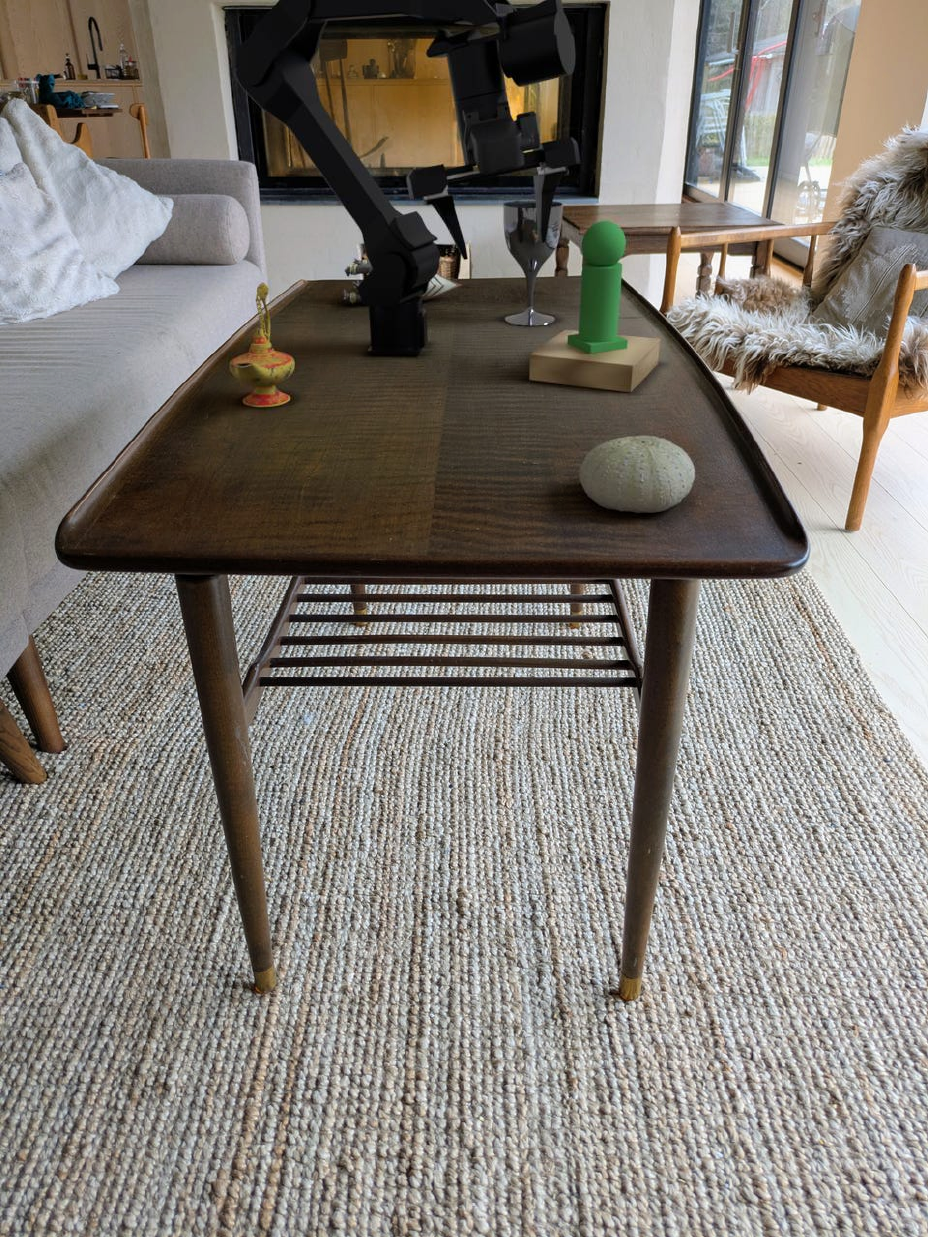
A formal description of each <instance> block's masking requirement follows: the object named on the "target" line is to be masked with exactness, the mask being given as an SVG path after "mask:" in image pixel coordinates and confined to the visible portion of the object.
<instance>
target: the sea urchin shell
mask: <svg viewBox="0 0 928 1237" xmlns="http://www.w3.org/2000/svg"><path fill="white" fill-rule="evenodd" d="M695 474H696V469H695V465H694V463H693V460H692V459H691V457H690V455H689V454H688V453H687V452H686V451H685V450H684V449H683V448H682V447H680V446H679V445H676V444H675V443H673V442H672V441H671V440H667V439H665V438H664V437H663V438H661V437H658V436H655V435H653V436H651V435H650V436H649V435H637V436H631V435H630V436H625V437H621V438H619V437H617V438H615V439H611V440H610V439H609V440H607V441H604V442H602V443H600V444H597V445H596V446H594V447H592V449H591V450H589V451H588V452H587V454H586V455H585V457H584V458H583V460H582V463H581V465H580V468H579V473H578V478H579V483H580V484H581V487H582V489H583V490H584V493H585V494H587V495H586V497H588V498H590V500H592V501H594V502H595V503H596V504H597V505H598V506H601V507H603V508H606V509H607V510H616V511H620V512H633V513H636V514H639V513H649V514H650V513H651V514H654V513H660V512H664V511H666V510H668V509H670V508H672V507H674V506H677V505H678V504H679V503H681V501H682V500H683V499H684V498H685V499H686V497H687V496H688V495H689V494H690V491H691V490H692V488H693V485H694V481H695V479H696V475H695Z"/></svg>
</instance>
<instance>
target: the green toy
mask: <svg viewBox="0 0 928 1237" xmlns="http://www.w3.org/2000/svg"><path fill="white" fill-rule="evenodd" d="M626 245H627V241H626V236H625V232H624V231H623V229H622V228H621V227H620V226H619V225H618V224H617V223H615V222H613V221H609V220H601V221H597V222H595V223H593V224H591V225H590V226H589V227H588V229H587V230H586V231H585V232H584V234H583V236H582V240H581V253H582V255H583V257H584V259H585V262H583V263H582V265H581V282H580V302H579V316H578V317H579V318H578V319H579V320H578V331H579V334H573V335H568V344H569V345H572V346H574V347H576V348H578V349H580V350H583V351H585V352H587V353H589V354H593V353H600V352H607V351H613V350H620V349H627V343H628V340H627V339H624V338H622V337H619V336H617V335H618V327H619V314H620V303H621V302H620V301H621V290H622V289H621V288H622V275H623V263H621V262H619V261H620V260H621V259H622V258H623V256H624V253H625V251H626Z"/></svg>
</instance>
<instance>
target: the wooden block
mask: <svg viewBox="0 0 928 1237" xmlns="http://www.w3.org/2000/svg"><path fill="white" fill-rule="evenodd" d="M573 334H579V330H576V329H575V330H573V329H563V330H562V331H560V332H559V333H558V334H556V335H555V336H554V337H552V338H551V339H549V340H548V341H546V342H545V343H543V344H542V345H540V346H539V347H538V348H536V349H535V350H534V351H533V352H531V353H530V354H529V373H528V374H529V379H528V380H529V381H535V382H542V383H551V384H558V385H565V386H573V387H575V386H576V387H583V388H591V389H600V390H608V391H616V392H623V393H624V392H625V393H632V392H633V391H634V390H635V389H636V388H637V386H639V384H641V382H643V380H644V379H645V378H646V377H647V376H648V375H649V374H650V373H651V372H652V371H653V370H654V369H655V367H657V366H658V365H659V359H660V358H659V356H660V346H661V338H655V337H645V336H633V335H624V334H617V336H619V337H622V338H624V339H627V340H628V343H627V349H620V350H613V351H607V352H600V353H593V354H589V353H587V352H585V351H583V350H580V349H578V348H576V347H574V346H572V345H569V344H568V335H573Z"/></svg>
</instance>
